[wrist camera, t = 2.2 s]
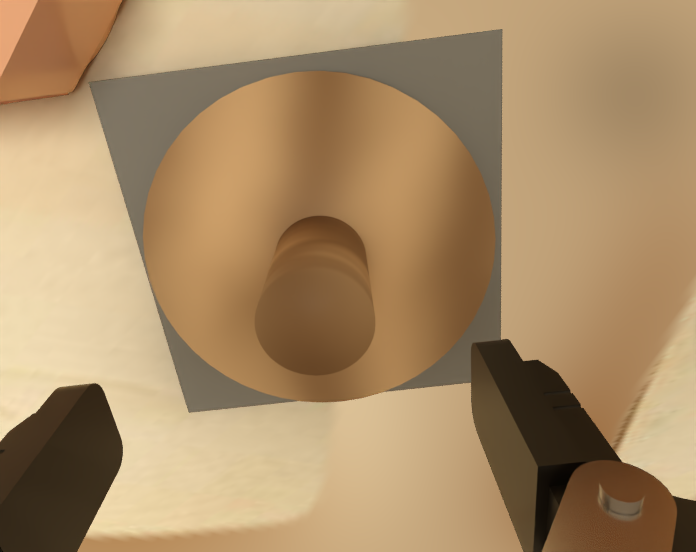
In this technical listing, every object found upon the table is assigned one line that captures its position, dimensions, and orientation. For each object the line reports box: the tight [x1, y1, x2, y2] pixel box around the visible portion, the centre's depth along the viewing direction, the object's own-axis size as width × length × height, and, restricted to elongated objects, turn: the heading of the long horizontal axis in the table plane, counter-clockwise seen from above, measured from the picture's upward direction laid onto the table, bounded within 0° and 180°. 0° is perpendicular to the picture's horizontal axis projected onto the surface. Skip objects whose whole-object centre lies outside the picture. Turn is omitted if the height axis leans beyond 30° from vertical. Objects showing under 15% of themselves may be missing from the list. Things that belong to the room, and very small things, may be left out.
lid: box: [143, 71, 496, 402], centre depth 17 cm, size 13×13×6 cm
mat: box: [89, 29, 502, 413], centre depth 20 cm, size 14×14×1 cm
